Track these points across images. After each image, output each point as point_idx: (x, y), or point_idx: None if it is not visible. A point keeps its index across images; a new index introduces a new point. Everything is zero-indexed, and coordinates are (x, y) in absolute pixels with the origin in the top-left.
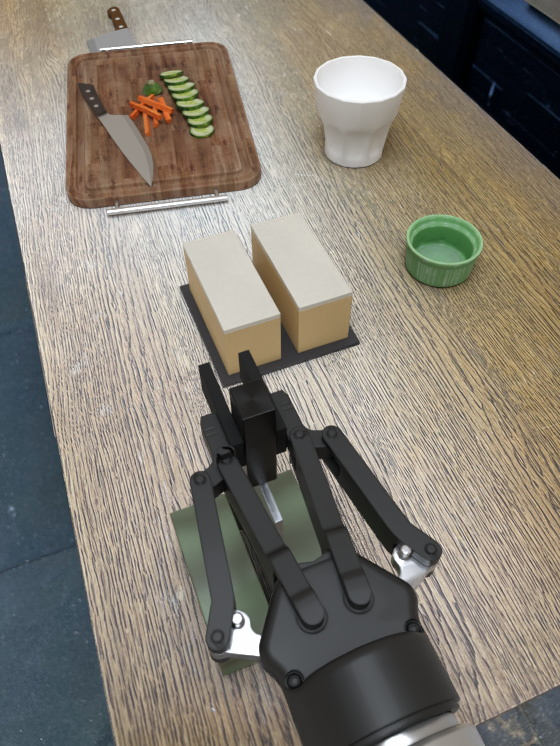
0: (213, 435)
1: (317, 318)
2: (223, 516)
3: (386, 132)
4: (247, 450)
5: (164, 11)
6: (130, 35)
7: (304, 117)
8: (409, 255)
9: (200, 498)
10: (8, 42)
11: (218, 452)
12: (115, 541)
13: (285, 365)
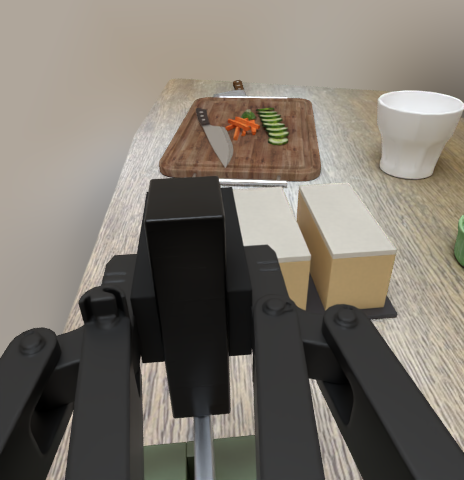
0: (117, 283)
1: (352, 273)
2: (172, 475)
3: (440, 151)
4: (162, 318)
5: (272, 86)
6: (244, 93)
7: (365, 145)
8: (460, 241)
9: (4, 380)
10: (162, 92)
11: (89, 295)
12: (51, 473)
13: None
